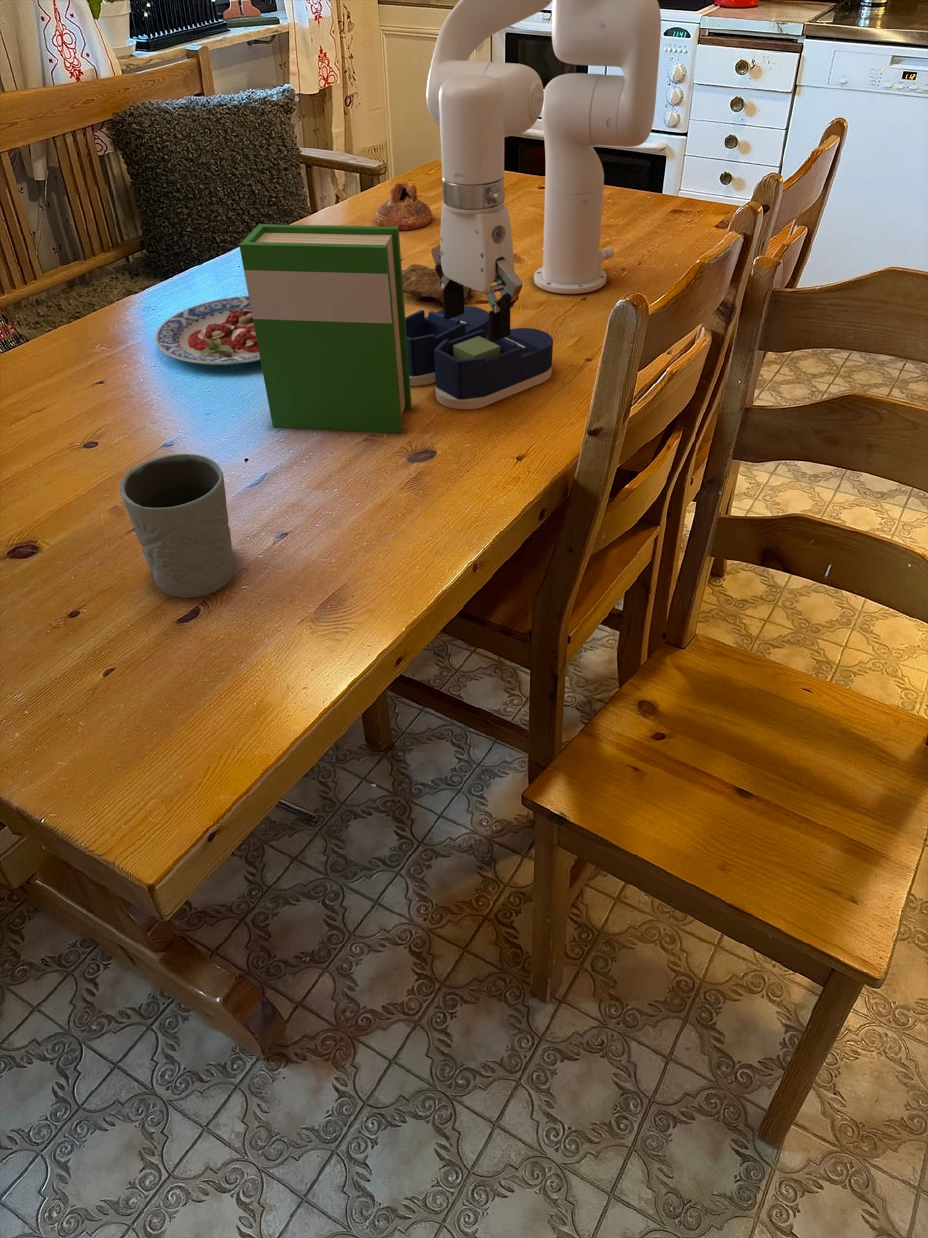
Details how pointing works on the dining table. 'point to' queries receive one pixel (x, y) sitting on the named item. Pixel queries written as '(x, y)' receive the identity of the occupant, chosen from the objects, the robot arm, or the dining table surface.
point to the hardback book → (330, 325)
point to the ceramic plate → (211, 333)
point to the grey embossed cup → (181, 522)
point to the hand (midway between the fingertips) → (476, 326)
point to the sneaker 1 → (437, 338)
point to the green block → (475, 349)
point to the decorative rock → (426, 283)
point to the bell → (403, 208)
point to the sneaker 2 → (492, 369)
